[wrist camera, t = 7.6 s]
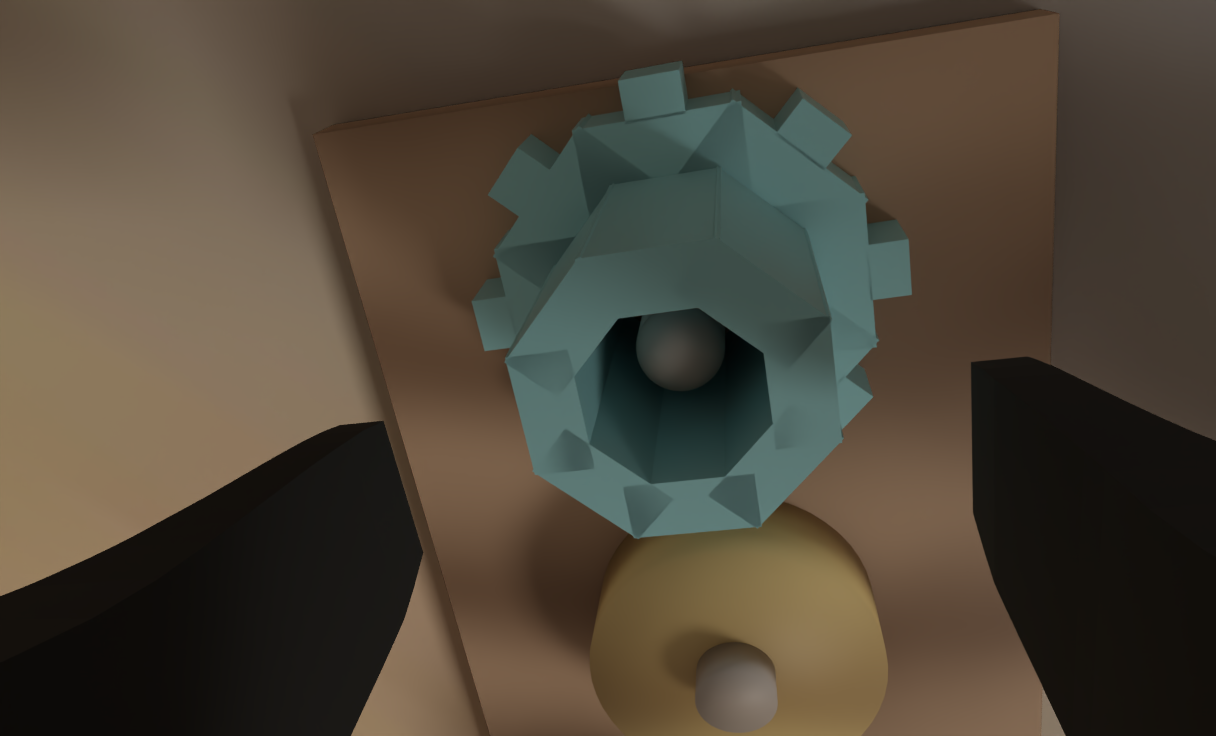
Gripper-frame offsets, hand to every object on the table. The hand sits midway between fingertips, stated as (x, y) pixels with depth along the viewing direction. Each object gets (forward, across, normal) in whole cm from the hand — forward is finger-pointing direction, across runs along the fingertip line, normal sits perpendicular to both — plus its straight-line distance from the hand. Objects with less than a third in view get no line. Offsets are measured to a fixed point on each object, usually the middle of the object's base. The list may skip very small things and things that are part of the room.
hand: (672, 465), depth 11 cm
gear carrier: (+8, 0, +8) cm, 11 cm away
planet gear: (+7, 0, 0) cm, 7 cm away
